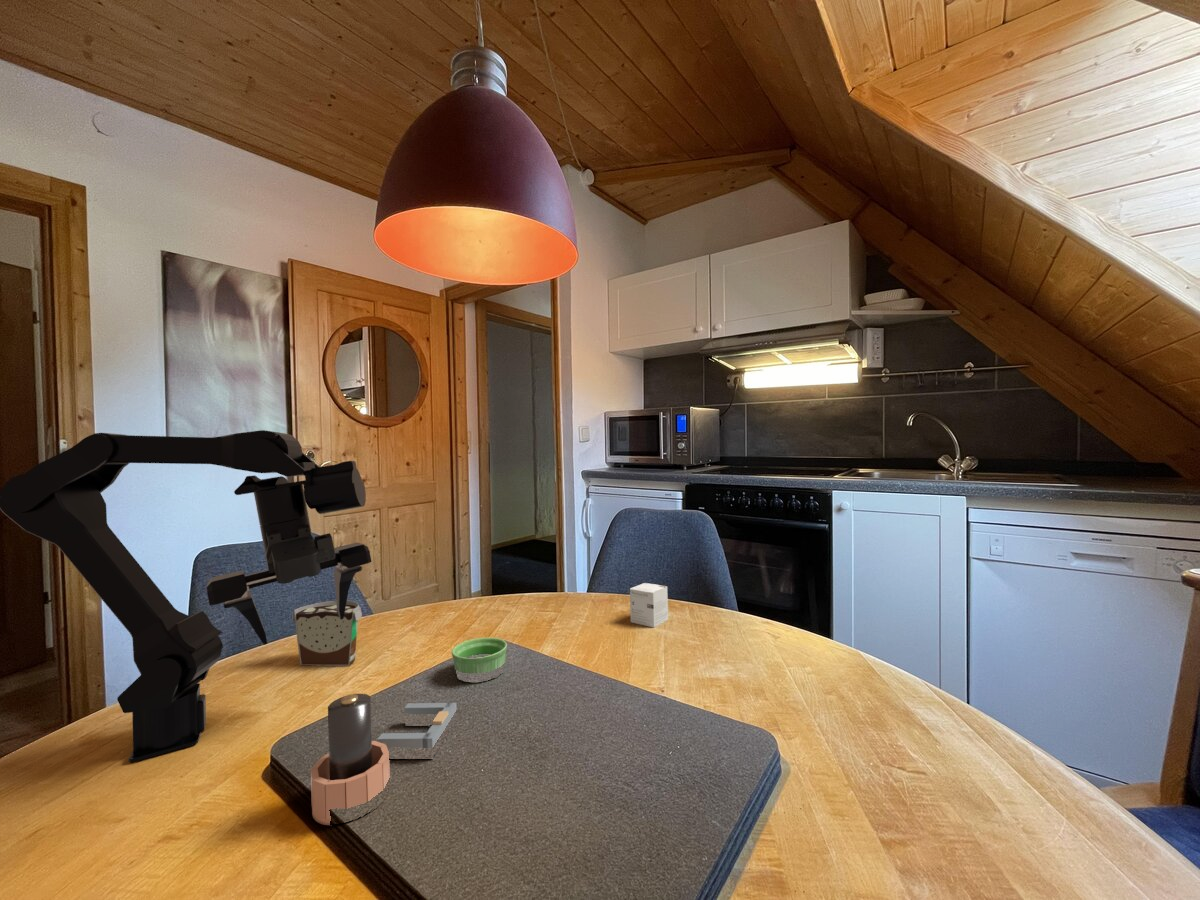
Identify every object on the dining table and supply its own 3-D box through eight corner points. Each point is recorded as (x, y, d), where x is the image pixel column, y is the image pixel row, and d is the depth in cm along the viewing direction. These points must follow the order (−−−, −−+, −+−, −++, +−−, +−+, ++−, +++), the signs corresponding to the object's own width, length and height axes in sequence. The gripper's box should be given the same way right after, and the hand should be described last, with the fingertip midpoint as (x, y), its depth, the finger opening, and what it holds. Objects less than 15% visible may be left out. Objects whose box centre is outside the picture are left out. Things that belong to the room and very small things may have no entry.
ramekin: (451, 667, 83) (450, 642, 83) (503, 658, 86) (502, 634, 86) (454, 690, 75) (453, 662, 75) (512, 679, 78) (511, 652, 78)
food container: (377, 652, 91) (375, 599, 91) (357, 666, 85) (356, 609, 85) (316, 652, 92) (314, 599, 92) (292, 665, 86) (291, 609, 86)
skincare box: (630, 623, 102) (628, 588, 103) (645, 615, 107) (644, 581, 107) (654, 628, 99) (653, 592, 99) (669, 619, 103) (667, 585, 104)
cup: (315, 836, 46) (314, 794, 46) (309, 795, 52) (308, 757, 52) (395, 803, 50) (394, 764, 50) (382, 768, 56) (381, 733, 56)
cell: (325, 811, 48) (323, 710, 48) (334, 786, 52) (332, 692, 52) (369, 801, 49) (367, 703, 50) (375, 777, 53) (372, 686, 53)
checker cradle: (377, 760, 57) (377, 735, 57) (408, 721, 66) (408, 700, 66) (432, 759, 57) (432, 735, 57) (456, 721, 65) (456, 699, 66)
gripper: (195, 542, 55) (220, 676, 55) (370, 506, 66) (390, 617, 66) (199, 536, 63) (220, 652, 64) (353, 506, 75) (371, 604, 75)
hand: (305, 630), depth 67 cm, fingers open, 9 cm apart
